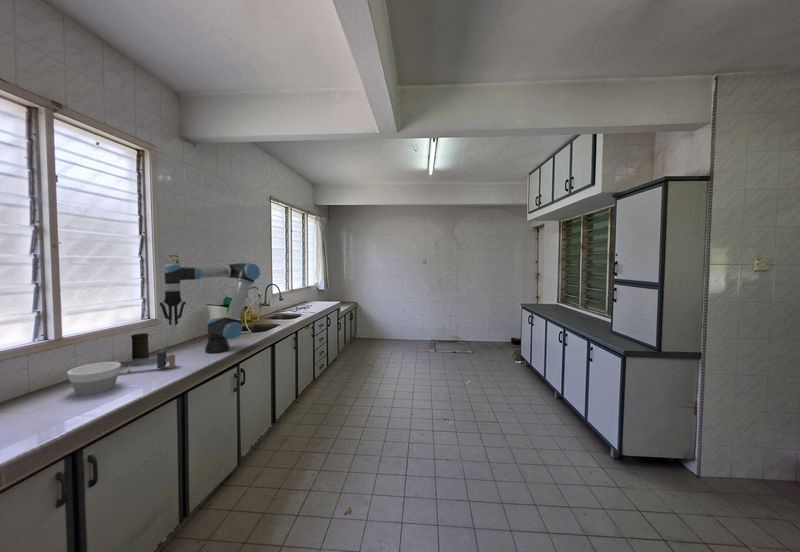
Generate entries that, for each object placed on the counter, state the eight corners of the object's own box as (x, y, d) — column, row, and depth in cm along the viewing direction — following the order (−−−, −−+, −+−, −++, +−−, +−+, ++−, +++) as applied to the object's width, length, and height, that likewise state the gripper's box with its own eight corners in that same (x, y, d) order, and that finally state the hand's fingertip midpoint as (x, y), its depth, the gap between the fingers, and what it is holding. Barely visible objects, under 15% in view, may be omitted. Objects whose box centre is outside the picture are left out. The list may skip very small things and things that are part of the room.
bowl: (128, 386, 162) (127, 365, 162) (75, 401, 146) (75, 377, 145) (112, 379, 172) (112, 359, 172) (62, 391, 156) (61, 369, 155)
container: (153, 361, 202) (153, 333, 201) (140, 366, 193) (140, 336, 192) (140, 361, 203) (139, 332, 202) (127, 365, 194) (126, 336, 193)
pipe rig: (175, 365, 196) (175, 353, 196) (173, 369, 188) (172, 357, 188) (111, 372, 182) (111, 359, 182) (106, 377, 174) (105, 364, 174)
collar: (166, 363, 193) (166, 348, 193) (163, 367, 186) (163, 352, 186) (160, 364, 192) (159, 349, 192) (157, 368, 185) (157, 352, 185)
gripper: (186, 289, 196) (187, 328, 197) (160, 290, 190) (161, 329, 191) (185, 290, 189) (186, 330, 191) (157, 291, 183) (158, 332, 184)
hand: (173, 330), depth 191 cm, fingers closed
